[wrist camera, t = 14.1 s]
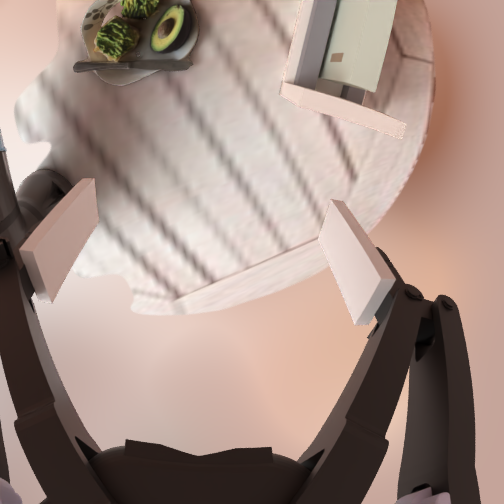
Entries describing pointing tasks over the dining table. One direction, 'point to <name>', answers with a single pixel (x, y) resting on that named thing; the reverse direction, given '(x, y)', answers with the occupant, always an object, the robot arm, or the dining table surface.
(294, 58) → the cabinet base
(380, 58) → the door panel
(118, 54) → the salad plate
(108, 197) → the dining table surface
